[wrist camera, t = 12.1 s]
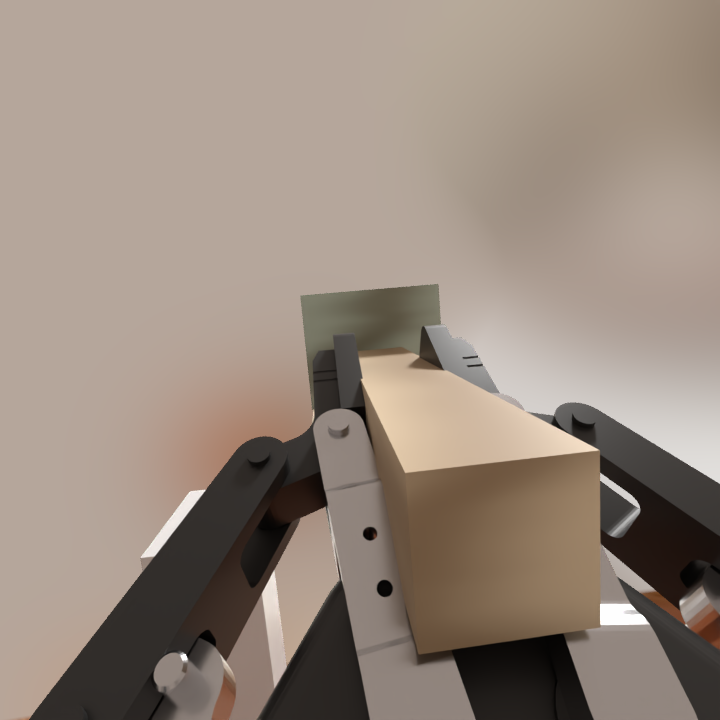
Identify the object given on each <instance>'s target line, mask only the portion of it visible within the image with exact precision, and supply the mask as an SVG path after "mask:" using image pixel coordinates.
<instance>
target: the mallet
mask: <svg viewBox="0 0 720 720" xmlns="http://www.w3.org/2000/svg"><path fill="white" fill-rule="evenodd" d="M438 287H439V286H438V284H434V285H422V286H411V287H398V288H387V289H375V290H362V291H350V292H339V293H327V294H315V295H303V296H301V306H302V314H303V325H304V334H305V344H306V352H307V363H308V373H309V382H310V391H311V401H312V409H314V389H313V359H314V358H315V356H316V354H317V353H318V351H322V350H332V349H334V342H333V334H344V333H354V334H355V339H356V345H357V350H358V355H359V361H360V366H361V372H362V377H363V379H361V384H362V389H363V395H364V401H365V407H366V431H367V434H368V437H369V440H370V443H371V446H372V449H373V452H374V455H375V460H376V465H377V471H378V476H379V478H381V480H382V484H383V489H384V494H385V499H386V505H387V510H388V516H389V521H390V526H391V532H392V537H393V542H394V548H395V553H396V559H397V564H398V569H399V575H400V580H401V586H402V591H403V596H404V601H405V605H406V609H407V613H408V617H409V620H410V624H411V628H412V632H413V636H414V639H415V643H416V647H417V651H418V654H426V653H432V652H439V651H446V650H453V649H459V648H466V647H473V646H480V645H486V644H493V643H500V642H506V641H513V640H520V639H527V638H533V637H540V636H547V635H553V634H560V633H567V632H574V631H580V630H587V629H594V628H601V594H600V450H598V449H597V448H595V447H593V446H591V445H589V444H587V443H585V442H583V441H581V440H579V439H577V438H575V437H574V436H572V435H570V434H568V433H566V432H564V431H562V430H560V429H558V428H556V427H554V426H552V425H551V424H549V423H547V422H545V421H543V420H541V419H539V418H537V417H535V416H533V415H531V414H529V413H528V412H526V411H524V410H522V409H520V408H518V407H516V406H514V405H512V404H510V403H508V402H506V401H505V400H503V399H501V398H499V397H497V396H495V395H493V394H491V393H489V392H487V391H485V390H483V389H482V388H480V387H478V386H476V385H474V384H472V383H470V382H468V381H466V380H464V379H462V378H460V377H458V376H457V375H455V374H453V373H451V372H449V371H447V370H445V371H444V370H442V369H440V368H438V367H436V366H435V365H433V364H431V363H429V362H427V361H425V360H423V359H422V358H420V357H419V352H420V338H421V329H422V327H423V326H430V325H441V321H440V305H439V288H438Z"/></svg>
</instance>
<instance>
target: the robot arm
mask: <svg viewBox="0 0 720 720" xmlns="http://www.w3.org/2000/svg"><path fill="white" fill-rule="evenodd" d="M333 342H334V349H332V350H322V351H318V353H317V354H316V356H315V358H314V359H313V389H314V420H313V423H312V425H311V426H310V428H309V429H308V430H307V431H306V432H305V433H303V434H302V435H300V436H299V437H297V438H295V439H292V440H289V441H287V442H285V443H282V442H281V441H280V440H278V439H276V438H273V437H258V438H254V439H251V440H249V441H247V442H245V443H244V444H242V445H241V446H240V447H239V448H238V449H237V450H236V452H235V453H234V454H233V455H232V457H231V458H230V459H229V461H228V462H227V463H226V465H225V466H224V467H223V469H222V470H221V471H220V473H219V474H218V475H217V476H216V477H215V479H214V480H213V481H212V483H211V484H210V485H209V487H208V488H207V490H205V492H204V493H203V494H202V496H201V497H200V498H199V499H198V501H197V502H196V503H195V505H194V506H193V507H192V509H191V510H190V511H189V512H188V514H187V515H186V516H185V518H184V519H183V520H182V522H181V523H180V524H179V525H178V527H177V528H176V529H175V531H174V532H173V533H172V534H171V536H170V537H169V538H168V540H167V541H166V542H165V544H164V545H163V546H162V547H161V549H160V550H159V551H158V553H157V554H156V555H155V556H154V558H153V559H152V560H151V562H150V563H149V564H148V566H147V567H146V568H145V569H144V571H143V572H142V574H141V575H140V576H139V577H138V579H137V580H136V581H135V582H134V584H133V585H132V586H131V588H130V589H129V590H128V592H127V593H126V594H125V595H124V597H123V598H122V599H121V601H120V602H119V603H118V604H117V606H116V607H115V608H114V610H113V611H112V612H111V614H110V615H109V616H108V617H107V619H106V620H105V621H104V623H103V624H102V625H101V626H100V628H99V629H98V630H97V632H96V633H95V634H94V636H93V637H92V638H91V640H90V641H89V642H88V643H87V645H86V646H85V647H84V648H83V650H82V651H81V652H80V654H79V655H78V656H77V658H76V659H75V660H74V662H73V663H72V664H71V665H70V667H69V668H68V669H67V671H66V672H65V673H64V674H63V676H62V677H61V678H60V680H59V681H58V682H57V683H56V685H55V686H54V687H53V689H52V690H51V691H50V693H49V694H48V695H47V696H46V698H45V699H44V700H43V702H42V703H41V704H40V705H39V707H38V708H37V709H36V711H35V712H34V714H33V715H32V716H31V718H30V719H29V720H229V718H230V715H231V712H232V710H233V707H234V703H235V698H236V681H235V677H234V674H233V672H232V670H231V668H230V667H229V665H228V664H227V663H226V661H227V659H228V657H229V655H230V653H231V651H232V650H233V648H234V646H235V644H236V642H237V640H238V638H239V636H240V634H241V632H242V630H243V629H244V627H245V625H246V623H247V621H248V619H249V617H250V615H251V613H252V611H253V610H254V608H255V606H256V604H257V602H258V600H259V598H260V596H261V594H262V592H263V590H264V589H265V587H266V585H267V583H268V581H269V579H270V577H271V575H272V573H273V571H274V570H275V567H276V565H277V564H278V562H279V560H280V558H281V556H282V554H283V552H284V551H285V549H286V546H287V545H288V543H289V541H290V539H291V537H292V535H293V533H294V531H295V530H296V528H297V526H298V523H299V521H300V518H301V517H303V516H306V515H308V514H310V513H313V512H315V511H317V510H319V509H321V508H324V507H326V513H327V518H328V523H329V529H330V534H331V540H332V545H333V551H334V556H335V562H336V568H337V574H338V579H339V581H338V582H337V584H336V585H335V586H334V588H333V589H332V590H331V592H330V593H329V595H328V597H327V598H326V600H325V602H324V603H323V605H322V607H321V609H320V610H319V612H318V614H317V616H316V617H315V619H314V621H313V622H312V624H311V626H310V628H309V629H308V631H307V633H306V635H305V636H304V638H303V640H302V642H301V644H300V645H299V647H298V649H297V650H296V652H295V654H294V656H293V657H292V659H291V661H290V662H289V664H288V666H287V668H286V669H285V671H284V673H283V675H282V676H281V678H280V680H279V682H278V683H277V685H276V687H275V688H274V690H273V692H272V694H271V695H270V697H269V699H268V701H267V702H266V704H265V706H264V708H263V709H262V711H261V713H260V715H259V716H258V718H257V720H720V484H719V483H717V482H715V481H714V480H712V479H711V478H709V477H707V476H706V475H704V474H703V473H701V472H699V471H698V470H696V469H694V468H693V467H691V466H689V465H688V464H686V463H684V462H683V461H681V460H679V459H678V458H676V457H674V456H673V455H671V454H670V453H668V452H666V451H665V450H663V449H661V448H660V447H658V446H656V445H655V444H653V443H651V442H650V441H648V440H647V439H645V438H643V437H642V436H640V435H638V434H637V433H635V432H633V431H632V430H630V429H629V428H627V427H625V426H624V425H622V424H620V423H619V422H617V421H615V420H614V419H612V418H610V417H609V416H607V415H606V414H604V413H602V412H601V411H599V410H597V409H595V408H593V407H591V406H589V405H586V404H582V403H565V404H563V405H561V406H559V407H558V408H557V409H556V412H555V414H554V416H551V415H544V414H537V413H530V412H528V413H529V414H531V415H533V416H535V417H537V418H539V419H541V420H543V421H545V422H547V423H549V424H551V425H552V426H554V427H556V428H558V429H560V430H562V431H564V432H566V433H568V434H570V435H572V436H574V437H575V438H577V439H579V440H581V441H583V442H585V443H587V444H589V445H591V446H593V447H595V448H597V449H598V450H600V473H602V474H603V475H604V476H606V477H607V478H609V479H610V480H611V481H613V482H614V483H616V484H617V485H618V486H620V487H621V488H623V489H624V490H626V491H627V492H628V493H630V494H631V495H632V496H633V497H634V498H635V499H636V500H637V501H638V503H639V505H640V509H639V508H637V507H635V506H634V505H633V504H631V503H630V502H628V501H627V500H626V499H624V498H623V497H622V496H620V495H619V494H617V493H616V492H615V491H613V490H612V489H611V488H609V487H608V486H607V485H605V484H604V483H602V482H601V481H600V594H601V628H594V629H587V630H580V631H574V632H567V633H560V634H553V635H547V636H540V637H533V638H527V639H520V640H513V641H506V642H500V643H493V644H486V645H480V646H473V647H466V648H459V649H453V650H446V651H439V652H432V653H426V654H418V651H417V647H416V643H415V639H414V636H413V632H412V628H411V624H410V620H409V617H408V613H407V609H406V605H405V601H404V596H403V591H402V586H401V580H400V575H399V569H398V564H397V559H396V553H395V548H394V542H393V537H392V532H391V526H390V521H389V516H388V510H387V505H386V499H385V494H384V489H383V484H382V480H381V478H379V476H378V471H377V465H376V460H375V455H374V452H373V449H372V446H371V443H370V440H369V437H368V434H367V431H366V407H365V401H364V395H363V389H362V384H361V379H363V377H362V372H361V366H360V361H359V355H358V350H357V345H356V339H355V334H354V333H344V334H333ZM419 357H420V358H422V359H423V360H425V361H427V362H429V363H431V364H433V365H435V366H436V367H438V368H440V369H442V370H444V371H445V370H447V371H449V372H451V373H453V374H455V375H457V376H458V377H460V378H462V379H464V380H466V381H468V382H470V383H472V384H474V385H476V386H478V387H480V388H482V389H483V390H485V391H487V392H489V393H491V394H493V395H495V396H497V397H499V398H501V399H503V400H505V401H506V402H508V403H510V404H512V405H514V406H516V407H518V408H520V409H522V410H524V409H523V407H522V405H521V404H520V403H519V402H518V401H517V400H515V399H513V398H512V397H510V396H507V395H504V394H500V393H499V391H498V390H497V388H496V386H495V384H494V383H493V381H492V379H491V377H490V376H489V374H488V372H487V370H486V369H485V367H484V366H483V364H482V362H481V360H480V358H478V355H477V353H476V351H475V350H474V348H473V346H472V345H471V344H469V343H468V342H466V341H465V340H464V339H463V338H452V337H451V335H450V333H449V331H448V329H447V327H446V325H444V324H441V325H430V326H423V327H422V329H421V338H420V352H419ZM602 545H603V546H604V547H605V548H606V549H607V550H609V551H610V552H611V553H612V554H614V555H615V556H616V557H617V558H618V559H620V561H622V562H623V563H624V564H625V565H626V566H628V567H629V568H630V569H631V570H632V571H634V572H635V573H636V574H637V575H638V576H639V577H641V578H642V579H643V580H644V581H645V582H647V583H648V584H649V585H650V586H651V587H653V588H654V589H655V590H656V591H657V592H659V593H660V594H661V595H662V596H663V597H664V598H666V599H667V600H668V601H669V602H670V603H672V604H673V605H674V606H675V607H676V608H678V609H679V610H680V611H681V614H682V616H683V619H684V620H685V622H686V625H684V624H683V623H681V622H680V621H678V620H677V619H676V618H674V617H673V616H671V615H670V614H669V613H667V612H666V611H665V610H663V609H662V608H660V607H659V606H658V605H656V604H655V603H653V602H652V601H651V600H649V599H648V598H646V597H645V596H644V595H642V594H641V593H639V592H638V591H637V590H635V589H634V588H632V587H631V586H629V585H628V584H627V583H625V582H624V581H623V580H621V579H620V578H618V577H617V576H616V574H615V572H614V569H613V567H612V565H611V563H610V561H609V559H608V557H607V555H606V553H605V551H604V549H603V547H602Z"/></svg>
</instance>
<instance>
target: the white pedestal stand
mask: <svg viewBox="0 0 720 720" xmlns="http://www.w3.org/2000/svg"><path fill="white" fill-rule="evenodd" d="M204 492H205V490H199V491H190V492H189V494H188V495H187V496H186V498H185V499H184V500H183V502H182V503H181V504H180V506H179V507H178V508H177V510H176V511H175V512H174V514H173V515H172V516H171V518H170V519H169V520H168V522H167V523H166V524H165V526H164V527H163V528H162V530H161V531H160V533H159V534H158V535H157V536H156V538H155V539H154V541H153V542H152V543H151V545H150V546H149V547H148V549H147V550H146V551H145V553H144V554H143V555H142V557H141V558H140V559H141V564H142V570H143V571H144V569H145V568H146V567H147V566H148V564H149V563H150V562H151V560H152V559H153V558H154V556H155V555H156V554H157V553H158V551H159V550H160V549H161V547H162V546H163V545H164V544H165V542H166V541H167V540H168V538H169V537H170V536H171V534H172V533H173V532H174V531H175V529H176V528H177V527H178V525H179V524H180V523H181V522H182V520H183V519H184V518H185V516H186V515H187V514H188V512H189V511H190V510H191V509H192V507H193V506H194V505H195V503H196V502H197V501H198V499H199V498H200V497H201V496H202V494H203V493H204ZM226 663H227V664H228V665H229V667H230V668H231V670H232V672H233V674H234V677H235V681H236V698H235V703H234V707H233V710H232V712H231V715H230V718H229V720H257V718H258V716H259V715H260V713H261V711H262V709H263V708H264V706H265V704H266V702H267V701H268V699H269V697H270V695H271V694H272V692H273V690H274V688H275V687H276V685H277V683H278V682H279V680H280V678H281V676H282V675H283V673H284V671H285V669H286V668H287V665H286V657H285V650H284V642H283V634H282V626H281V618H280V610H279V602H278V595H277V587H276V579H275V571H273V573H272V575H271V577H270V579H269V581H268V583H267V585H266V587H265V589H264V590H263V592H262V594H261V596H260V598H259V600H258V602H257V604H256V606H255V608H254V610H253V611H252V613H251V615H250V617H249V619H248V621H247V623H246V625H245V627H244V629H243V630H242V632H241V634H240V636H239V638H238V640H237V642H236V644H235V646H234V648H233V650H232V651H231V653H230V655H229V657H228V659H227V661H226Z"/></svg>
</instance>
